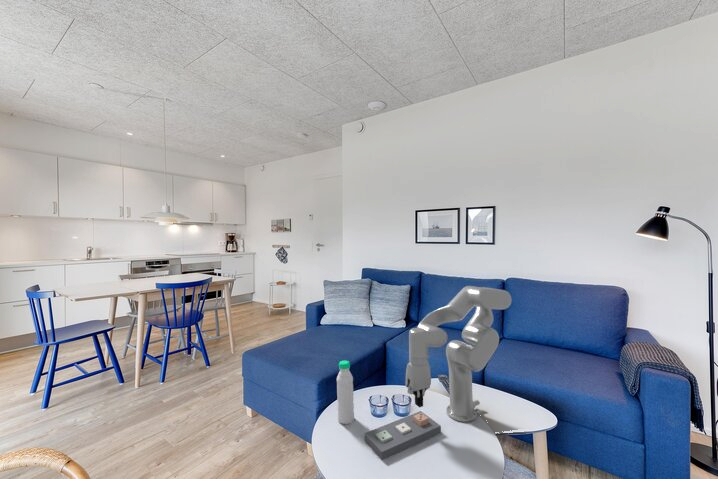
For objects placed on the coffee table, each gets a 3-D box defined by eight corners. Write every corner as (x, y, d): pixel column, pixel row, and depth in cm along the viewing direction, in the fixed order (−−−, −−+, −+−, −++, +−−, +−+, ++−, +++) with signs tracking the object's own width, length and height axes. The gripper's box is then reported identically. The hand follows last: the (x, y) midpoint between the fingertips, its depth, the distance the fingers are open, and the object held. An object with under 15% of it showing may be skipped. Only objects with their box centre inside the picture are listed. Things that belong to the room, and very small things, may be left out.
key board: (420, 417, 129) (420, 411, 129) (441, 433, 119) (440, 425, 119) (364, 441, 116) (364, 433, 116) (381, 460, 105) (381, 452, 105)
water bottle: (339, 426, 125) (337, 366, 125) (336, 416, 132) (334, 359, 132) (355, 423, 127) (354, 364, 127) (352, 413, 134) (350, 358, 134)
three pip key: (421, 421, 125) (421, 412, 125) (428, 426, 121) (428, 417, 121) (413, 424, 122) (413, 415, 122) (420, 430, 119) (420, 421, 119)
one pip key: (404, 431, 120) (404, 422, 120) (411, 437, 116) (411, 428, 116) (395, 435, 118) (395, 426, 118) (402, 441, 114) (401, 432, 114)
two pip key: (385, 439, 116) (385, 430, 116) (392, 445, 112) (392, 436, 112) (376, 443, 114) (375, 433, 114) (382, 450, 110) (382, 440, 110)
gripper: (426, 353, 128) (426, 396, 128) (398, 360, 121) (398, 406, 121) (438, 359, 122) (439, 404, 122) (409, 367, 115) (410, 415, 114)
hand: (419, 405), depth 121 cm, fingers closed
